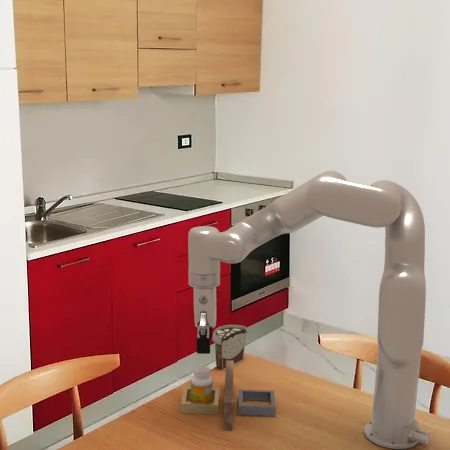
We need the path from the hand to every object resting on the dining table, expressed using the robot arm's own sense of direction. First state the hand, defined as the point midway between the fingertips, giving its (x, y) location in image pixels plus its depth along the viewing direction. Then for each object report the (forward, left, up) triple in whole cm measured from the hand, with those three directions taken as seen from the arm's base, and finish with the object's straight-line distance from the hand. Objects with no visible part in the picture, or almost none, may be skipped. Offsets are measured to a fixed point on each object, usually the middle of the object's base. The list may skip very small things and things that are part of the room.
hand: (204, 345), depth 173 cm
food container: (+13, -24, -16) cm, 32 cm away
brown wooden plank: (-5, -4, -16) cm, 17 cm away
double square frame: (-5, -4, -16) cm, 17 cm away
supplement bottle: (0, 0, -16) cm, 16 cm away
